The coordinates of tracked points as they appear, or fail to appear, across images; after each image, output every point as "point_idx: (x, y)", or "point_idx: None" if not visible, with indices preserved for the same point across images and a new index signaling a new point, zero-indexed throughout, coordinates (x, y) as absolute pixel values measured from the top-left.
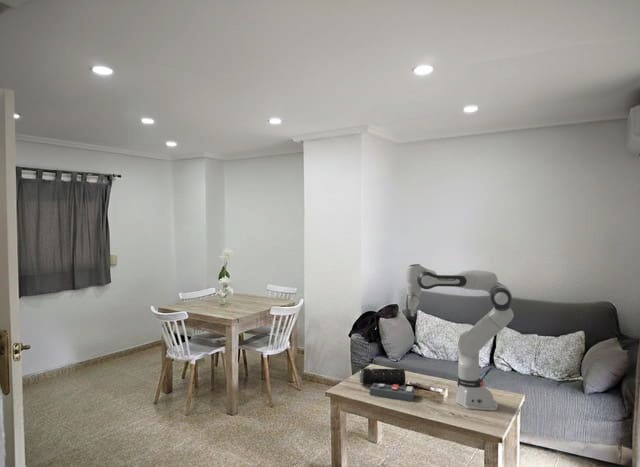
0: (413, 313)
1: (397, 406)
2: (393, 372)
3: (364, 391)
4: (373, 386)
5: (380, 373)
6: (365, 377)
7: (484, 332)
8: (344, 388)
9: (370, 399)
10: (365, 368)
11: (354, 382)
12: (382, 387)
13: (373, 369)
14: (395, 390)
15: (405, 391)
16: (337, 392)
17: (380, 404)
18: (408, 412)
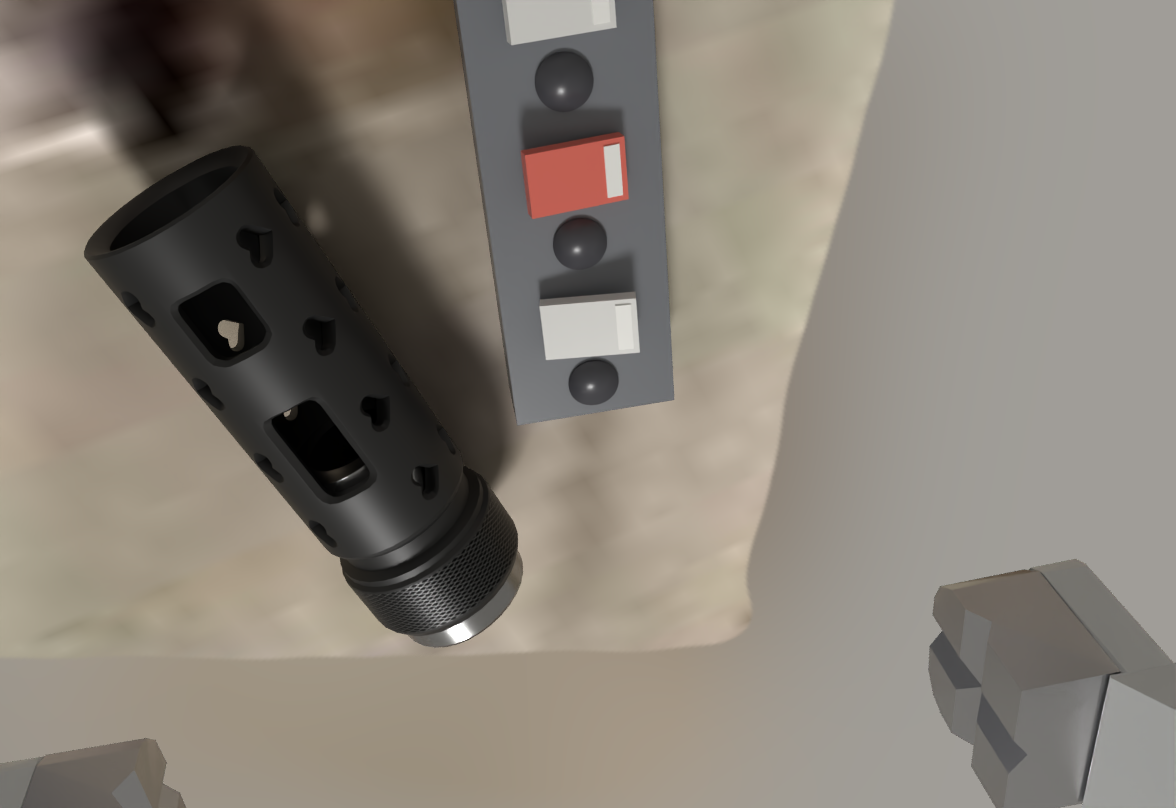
0: (1157, 672)
1: (823, 28)
2: (302, 324)
3: (598, 438)
4: (616, 388)
5: (404, 441)
6: (510, 531)
7: None
8: (612, 596)
9: (756, 320)
10: (426, 611)
11: None
12: None
13: (395, 538)
14: None
15: (593, 33)
16: (721, 598)
17: (834, 197)
18: None
